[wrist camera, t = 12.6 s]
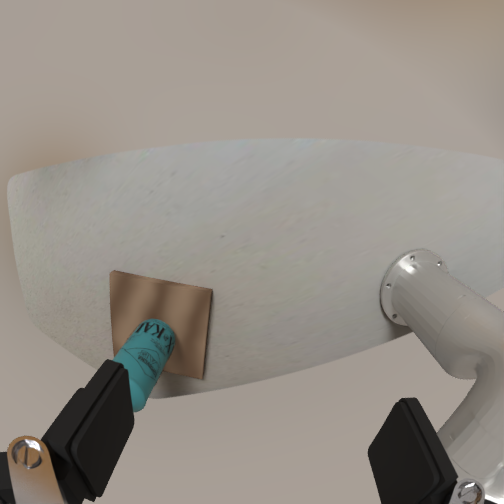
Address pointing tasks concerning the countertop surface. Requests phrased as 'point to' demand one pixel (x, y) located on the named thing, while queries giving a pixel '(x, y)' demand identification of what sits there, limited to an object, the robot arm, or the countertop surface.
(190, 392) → the countertop surface
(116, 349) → the walnut board
